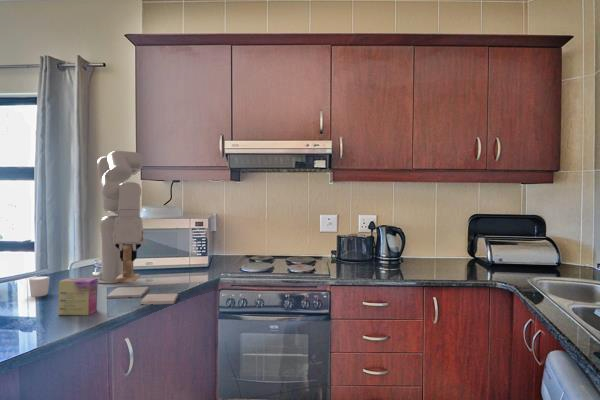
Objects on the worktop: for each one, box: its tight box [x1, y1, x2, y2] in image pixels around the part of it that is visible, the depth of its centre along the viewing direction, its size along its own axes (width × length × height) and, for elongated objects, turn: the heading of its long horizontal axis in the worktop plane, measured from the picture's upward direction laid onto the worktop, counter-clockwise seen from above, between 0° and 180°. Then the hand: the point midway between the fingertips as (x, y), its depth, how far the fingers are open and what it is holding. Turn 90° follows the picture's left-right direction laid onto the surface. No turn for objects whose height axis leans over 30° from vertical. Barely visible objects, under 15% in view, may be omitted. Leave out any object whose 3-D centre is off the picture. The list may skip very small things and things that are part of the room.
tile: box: [140, 293, 179, 305], centre depth 141 cm, size 2×10×12 cm
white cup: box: [28, 275, 51, 298], centre depth 145 cm, size 7×7×7 cm
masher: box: [115, 243, 141, 283], centre depth 139 cm, size 7×7×14 cm
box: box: [57, 277, 99, 316], centre depth 124 cm, size 10×6×12 cm, turn 92°
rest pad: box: [106, 286, 150, 299], centre depth 150 cm, size 13×13×1 cm
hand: (128, 260), depth 139 cm, fingers closed on masher, 3 cm apart
